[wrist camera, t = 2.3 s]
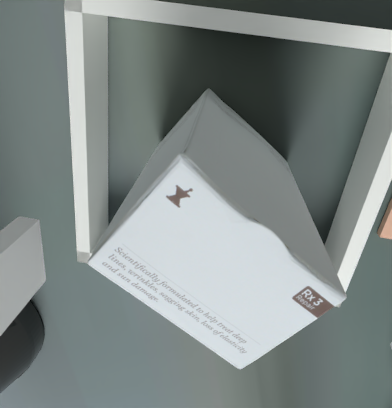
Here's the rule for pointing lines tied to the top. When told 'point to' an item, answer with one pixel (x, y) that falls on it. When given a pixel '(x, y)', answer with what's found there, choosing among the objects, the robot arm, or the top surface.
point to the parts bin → (231, 22)
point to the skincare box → (220, 238)
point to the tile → (386, 223)
